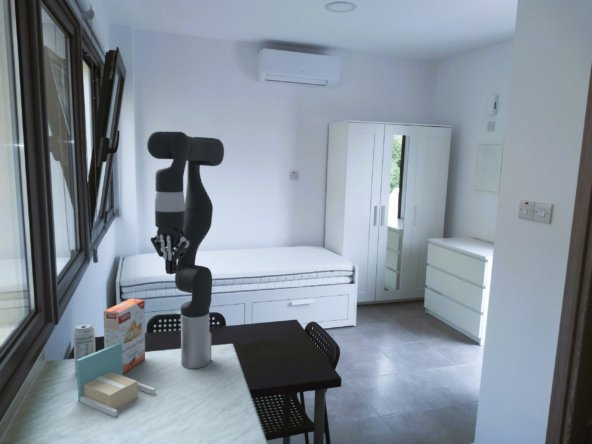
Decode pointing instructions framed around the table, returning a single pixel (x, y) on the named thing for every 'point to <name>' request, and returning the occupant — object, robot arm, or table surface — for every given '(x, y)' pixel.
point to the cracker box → (126, 330)
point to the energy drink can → (83, 341)
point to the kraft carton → (111, 389)
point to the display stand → (100, 366)
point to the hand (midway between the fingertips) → (171, 273)
